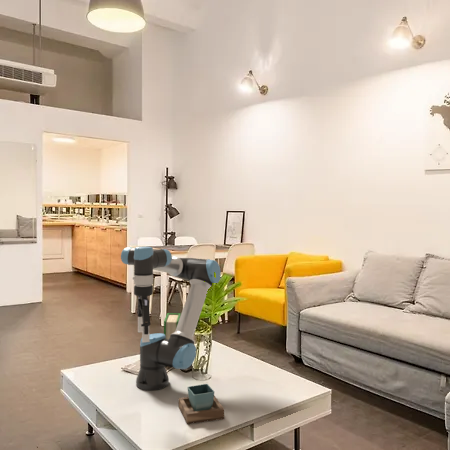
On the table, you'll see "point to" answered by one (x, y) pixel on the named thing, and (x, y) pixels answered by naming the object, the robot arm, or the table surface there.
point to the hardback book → (171, 323)
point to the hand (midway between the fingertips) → (143, 337)
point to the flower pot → (201, 397)
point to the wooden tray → (200, 412)
